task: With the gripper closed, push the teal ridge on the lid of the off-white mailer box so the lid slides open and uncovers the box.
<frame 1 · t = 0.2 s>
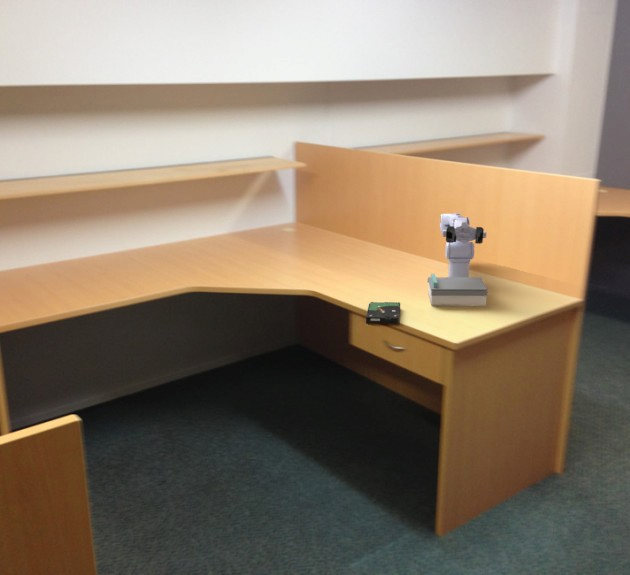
hand: (466, 239, 227), 21 cm above the table, tool horizontal, fingers open, 7 cm apart
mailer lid: (456, 283, 234), point 6 cm above the table, slide at 0.0 cm
mailer box: (456, 299, 235), on the table
disk drive: (383, 317, 222), on the table
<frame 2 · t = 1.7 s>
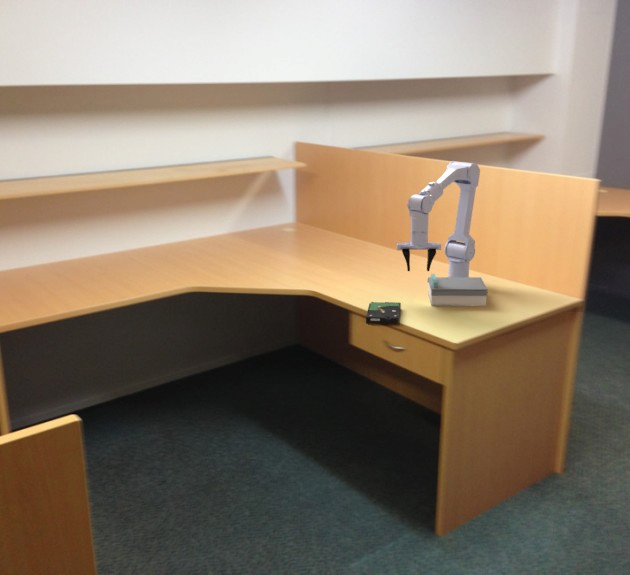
hand: (418, 270, 233), 10 cm above the table, tool pointing down, fingers open, 6 cm apart
nothing on the table moved.
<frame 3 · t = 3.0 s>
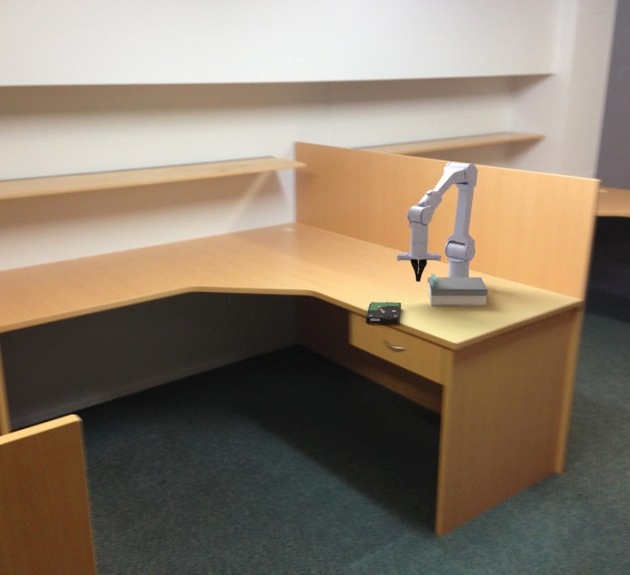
hand: (418, 280, 234), 7 cm above the table, tool pointing down, fingers closed
nothing on the table moved.
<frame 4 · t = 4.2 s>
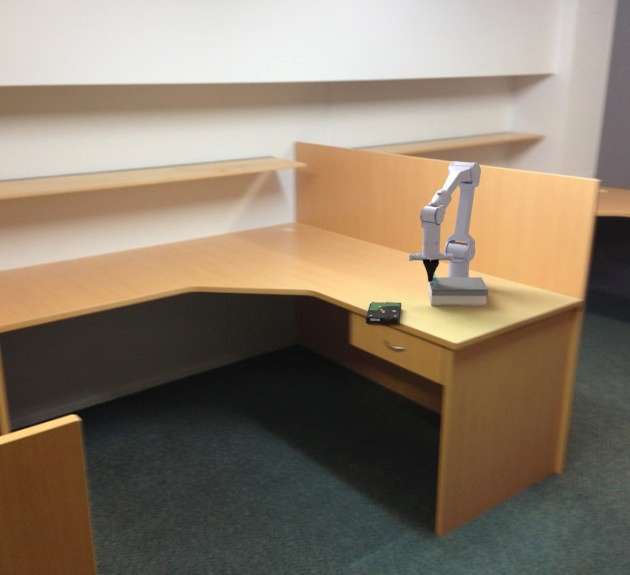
hand: (430, 280, 234), 7 cm above the table, tool pointing down, fingers closed
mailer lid: (457, 283, 234), point 6 cm above the table, slide at 0.2 cm, touching gripper
everything else where it was.
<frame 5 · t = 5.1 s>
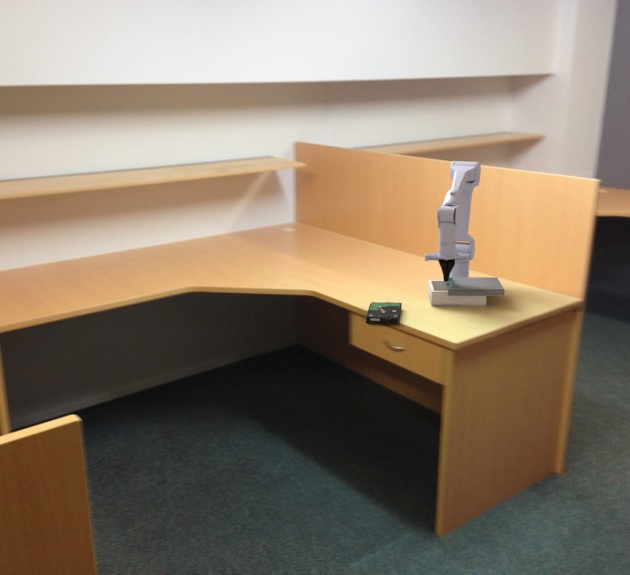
hand: (445, 280, 234), 7 cm above the table, tool pointing down, fingers closed
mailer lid: (473, 283, 233), point 6 cm above the table, slide at 5.4 cm, touching gripper
everything else where it was.
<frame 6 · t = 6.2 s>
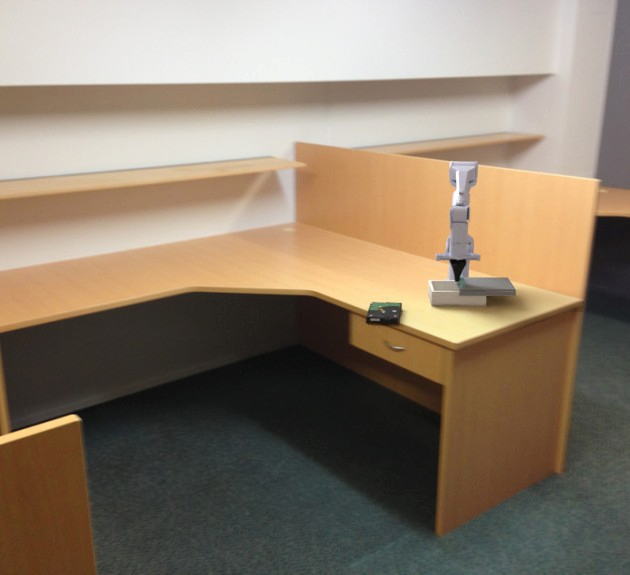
hand: (456, 280, 233), 7 cm above the table, tool pointing down, fingers closed
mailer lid: (484, 283, 233), point 6 cm above the table, slide at 9.1 cm, touching gripper
everything else where it was.
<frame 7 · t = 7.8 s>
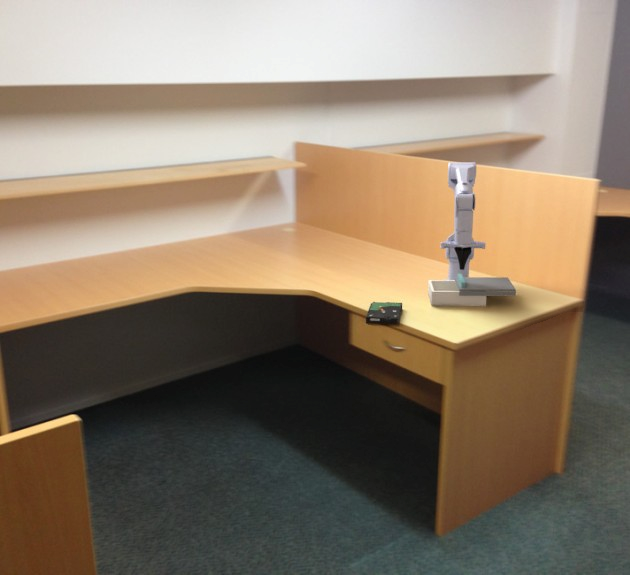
hand: (461, 268, 234), 10 cm above the table, tool pointing down, fingers closed
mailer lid: (484, 283, 233), point 6 cm above the table, slide at 9.1 cm
everything else where it was.
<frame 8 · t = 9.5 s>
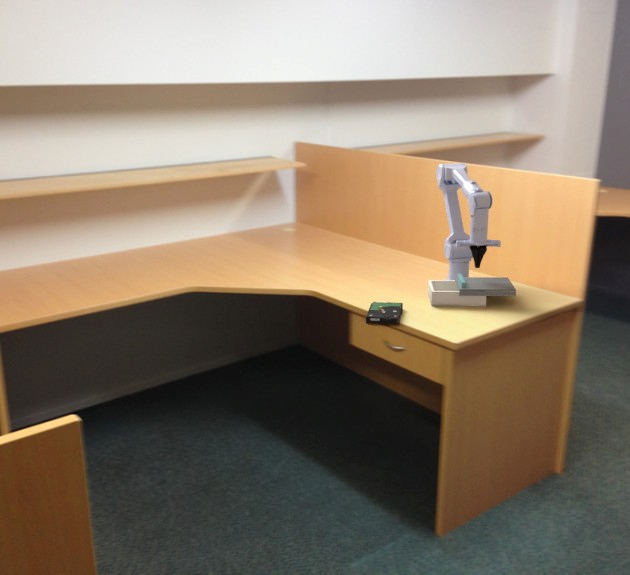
hand: (477, 267, 235), 10 cm above the table, tool pointing down, fingers closed
nothing on the table moved.
at the end: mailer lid slide at 9.1 cm; disk drive moved 0.8 cm from its start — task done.
